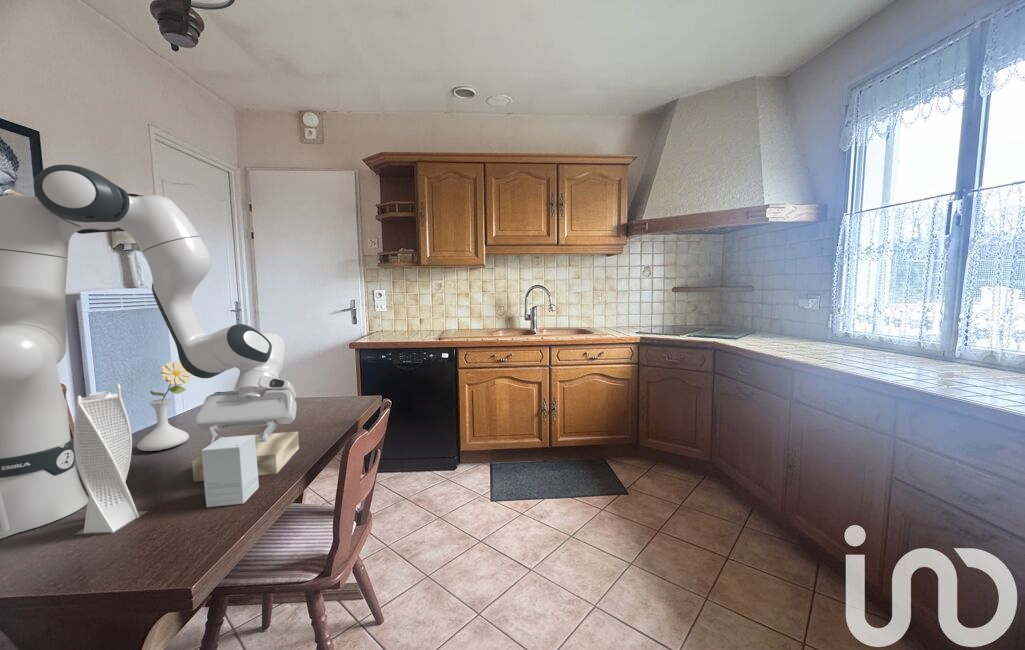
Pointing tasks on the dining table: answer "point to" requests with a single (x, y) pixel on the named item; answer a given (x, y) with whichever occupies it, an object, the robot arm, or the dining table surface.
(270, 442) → the birch stand
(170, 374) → the flower in vase
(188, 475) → the dining table surface
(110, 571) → the dining table surface
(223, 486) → the supplement box
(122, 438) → the skyscraper
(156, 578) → the dining table surface
